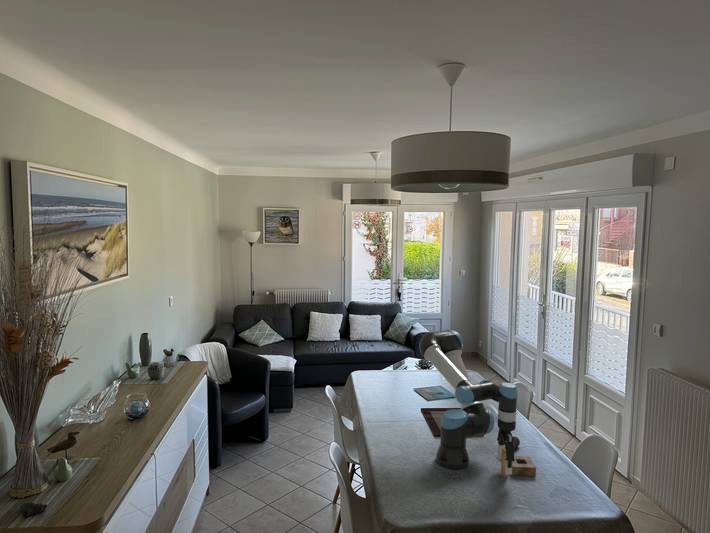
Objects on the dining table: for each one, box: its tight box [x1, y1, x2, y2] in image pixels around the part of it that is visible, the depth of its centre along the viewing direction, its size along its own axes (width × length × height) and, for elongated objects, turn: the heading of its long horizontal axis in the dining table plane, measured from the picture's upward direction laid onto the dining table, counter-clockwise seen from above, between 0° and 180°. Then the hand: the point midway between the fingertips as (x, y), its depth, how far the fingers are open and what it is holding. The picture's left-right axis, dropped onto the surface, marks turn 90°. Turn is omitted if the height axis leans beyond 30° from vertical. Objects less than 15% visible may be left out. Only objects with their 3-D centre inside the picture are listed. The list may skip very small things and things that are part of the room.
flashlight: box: [503, 435, 521, 450], centre depth 233 cm, size 15×5×5 cm, turn 142°
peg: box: [500, 448, 509, 479], centre depth 209 cm, size 3×3×12 cm
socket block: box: [512, 455, 537, 477], centre depth 214 cm, size 10×10×4 cm
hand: (504, 466), depth 209 cm, fingers open, 12 cm apart
